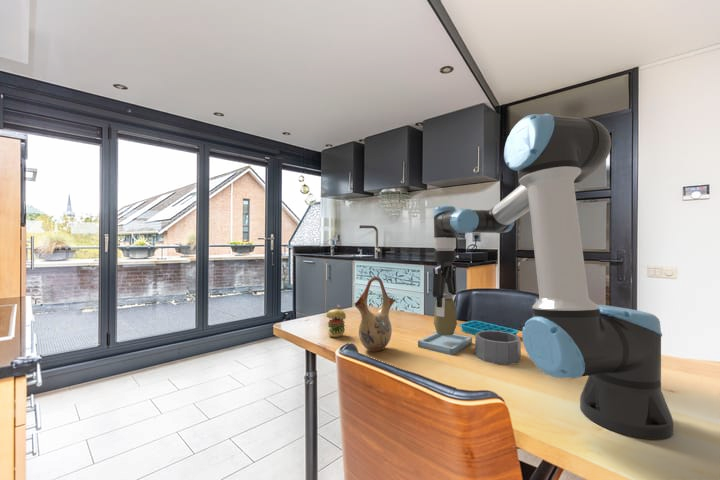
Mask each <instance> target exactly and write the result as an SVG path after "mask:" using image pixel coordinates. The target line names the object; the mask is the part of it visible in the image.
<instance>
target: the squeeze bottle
mask: <svg viewBox="0 0 720 480" xmlns="http://www.w3.org/2000/svg"><path fill="white" fill-rule="evenodd" d="M443 298H445V314H444V317H441V316H437V313H436V303H435V305H434V314H433V315H434V316H433V317H434V318H433V325H434V329H435V333H436V332H437V333H438V334H440V335H453V334H455V331H456V328H457V325H458V324H457V323H458V322H457V313H456V301H455V300H454V299H453V300H452V299H451V298H452V294H451V293H449V291H448V287H447V283H445V288H444V295H443Z"/></svg>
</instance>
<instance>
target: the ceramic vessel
mask: <svg viewBox="0 0 720 480" xmlns="http://www.w3.org/2000/svg"><path fill="white" fill-rule="evenodd" d="M374 281H377V282H378V284H379V285H380V288H381V289H380V290H381V295H382V304H381V306H380V308H379V309H378V310H377V311H375V312H371V311H370V309H369V307H368V297H369V296H368V295H369V292H370V287H371V285H372V282H374ZM395 302H396V299H394V298H391V297H389V296H388V294H387V292H386V289H385V285H384V283H383V280H382V279H381V278H380V277H377V276H374V277H371V278H369V280H368V282H367V284H366V286H365V289H364V291H363V293H362V294H361V296H360V297H359V298H358V300H357V301H355V302H353V303H354V304H353V306H354V307H355V308H356V309H357V310H358V311H359V313H360V314H361V322H360V324H359V327H358V329H359V330H358V336H359V337H358V338H359V340H360V343H361V345H362V346H363V348H365V349H366V350H367V351H369V352H381V351H382V350H384V349H385V348H386V347H387V345H388V344H389V343H390V341H391V337H392V334H393V332H392V331H393V328H392V323H391V320H390V317H389V316H390V315H389V314H390V309H391V308H392V306H393V305H394V304H395Z"/></svg>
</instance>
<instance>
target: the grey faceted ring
mask: <svg viewBox="0 0 720 480" xmlns="http://www.w3.org/2000/svg"><path fill="white" fill-rule="evenodd" d="M474 338H475V340H474V341H475V342H474V343H475V345H474V346H475V348H474V349H475V350H474V352H475V356H476V357H477V358H478V359H480V360H482V361H484V362H488V363H492V364H497V365H514V364H518V363H520V361H521V360H522V350H521V349H522V345H521V344H522V343H521V342H522V339H521V338H520V337H519V335H517V334H516V335H514V334H511V333H508V332H502V331H489V330H487V331H479V332H477V333H476V334H475V335H474Z"/></svg>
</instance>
